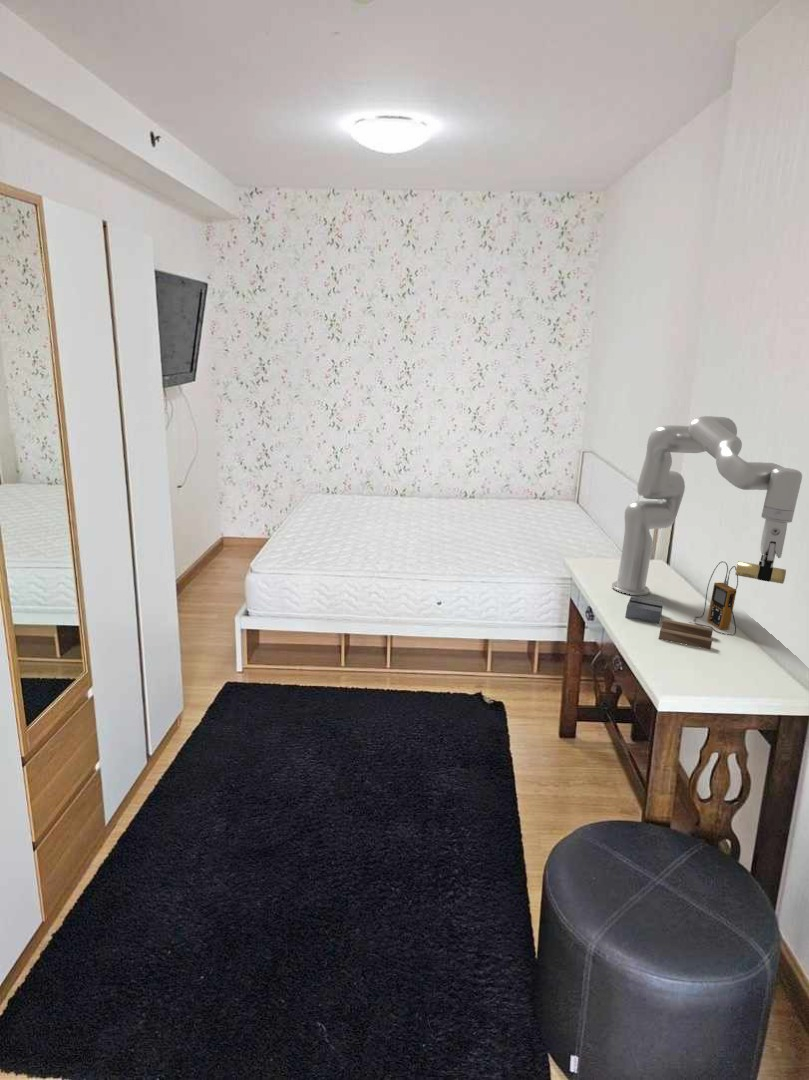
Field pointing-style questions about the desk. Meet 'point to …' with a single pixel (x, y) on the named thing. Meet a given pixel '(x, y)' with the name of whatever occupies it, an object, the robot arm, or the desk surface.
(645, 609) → the v block
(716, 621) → the multimeter
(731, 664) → the desk surface
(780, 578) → the axle
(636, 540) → the robot arm
